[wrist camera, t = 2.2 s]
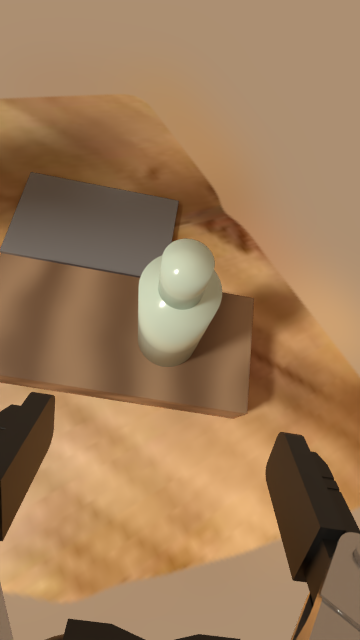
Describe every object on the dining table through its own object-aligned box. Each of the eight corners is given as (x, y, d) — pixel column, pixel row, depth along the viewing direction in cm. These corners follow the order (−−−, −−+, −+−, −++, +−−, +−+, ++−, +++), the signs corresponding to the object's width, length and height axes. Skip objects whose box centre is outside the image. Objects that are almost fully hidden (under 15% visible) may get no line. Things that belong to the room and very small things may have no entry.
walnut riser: (-22, 379, 29) (-45, 368, 25) (16, 275, 32) (0, 253, 29) (233, 418, 30) (247, 413, 26) (240, 315, 34) (253, 298, 30)
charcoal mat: (1, 254, 33) (-1, 250, 32) (32, 176, 37) (30, 172, 36) (164, 283, 34) (164, 280, 33) (178, 204, 38) (178, 200, 37)
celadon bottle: (132, 361, 27) (130, 296, 16) (143, 306, 28) (148, 212, 17) (192, 371, 27) (232, 314, 16) (199, 316, 29) (239, 230, 18)
